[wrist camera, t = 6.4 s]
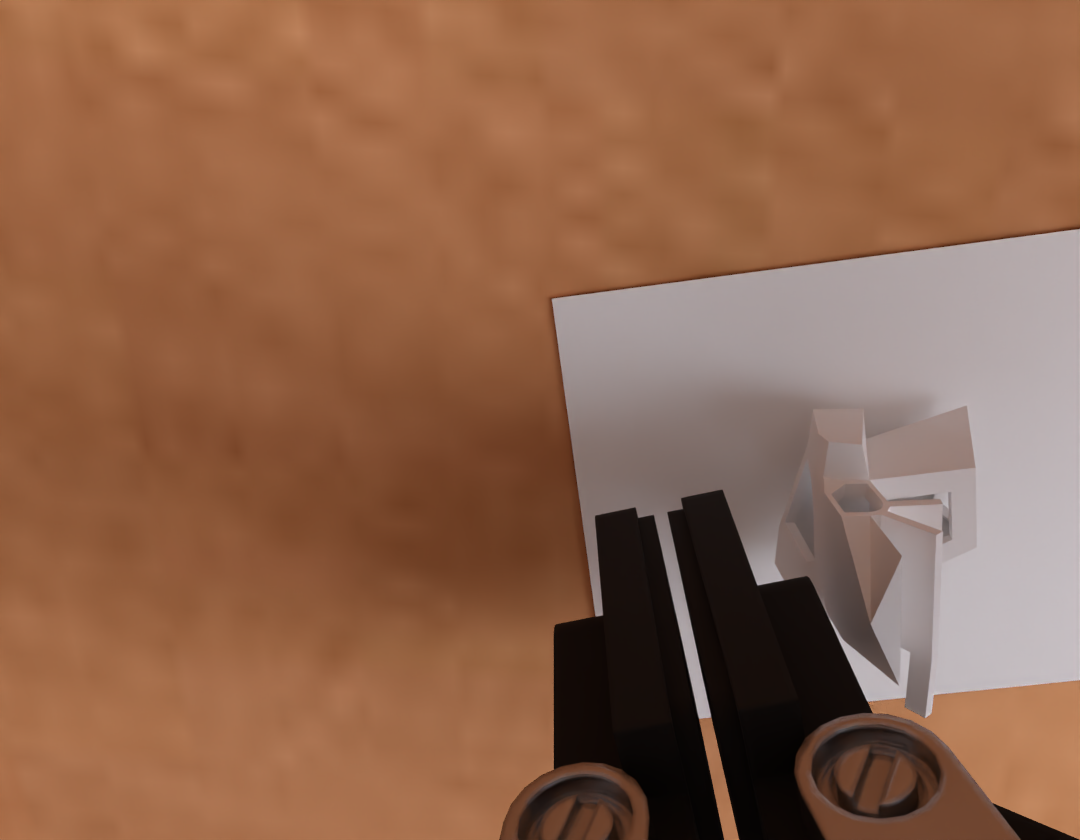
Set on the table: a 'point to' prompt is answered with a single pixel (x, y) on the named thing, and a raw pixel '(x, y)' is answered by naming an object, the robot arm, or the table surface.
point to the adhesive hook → (859, 447)
